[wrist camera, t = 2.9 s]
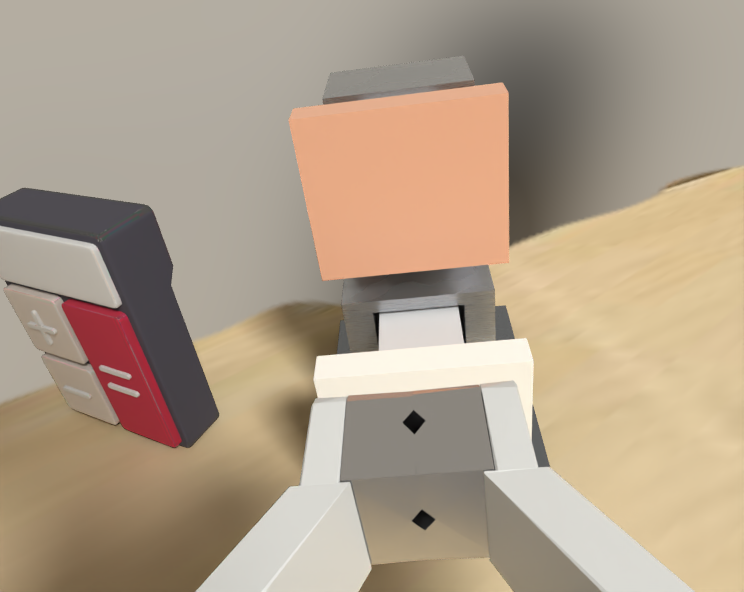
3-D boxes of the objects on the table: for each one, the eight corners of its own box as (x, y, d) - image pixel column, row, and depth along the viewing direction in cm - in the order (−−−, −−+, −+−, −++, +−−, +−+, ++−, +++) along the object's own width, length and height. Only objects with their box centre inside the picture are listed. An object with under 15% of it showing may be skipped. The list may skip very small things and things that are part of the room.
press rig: (321, 533, 31) (228, 210, 21) (342, 331, 45) (292, 77, 35) (560, 519, 30) (585, 170, 20) (505, 316, 44) (503, 50, 34)
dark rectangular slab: (64, 413, 42) (-48, 218, 33) (112, 373, 45) (20, 185, 36) (183, 460, 37) (86, 244, 28) (227, 411, 40) (152, 204, 31)
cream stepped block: (340, 488, 29) (313, 379, 25) (348, 381, 35) (328, 281, 31) (530, 475, 28) (533, 361, 24) (505, 368, 35) (504, 264, 31)
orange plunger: (322, 280, 30) (288, 119, 25) (333, 211, 36) (308, 72, 31) (509, 262, 29) (508, 92, 24) (487, 194, 35) (484, 49, 31)
